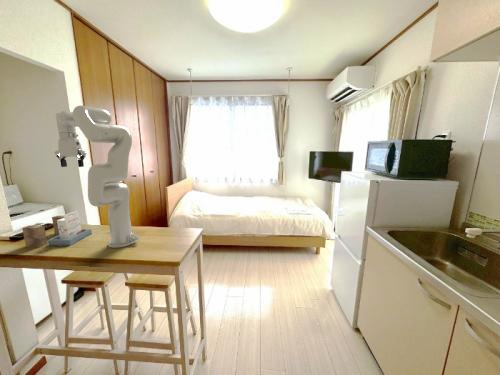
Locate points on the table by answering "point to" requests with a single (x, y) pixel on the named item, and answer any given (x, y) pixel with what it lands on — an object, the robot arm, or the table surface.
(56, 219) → the right walnut block
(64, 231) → the ink cartridge box
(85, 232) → the tray
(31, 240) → the left walnut block
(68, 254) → the table surface
